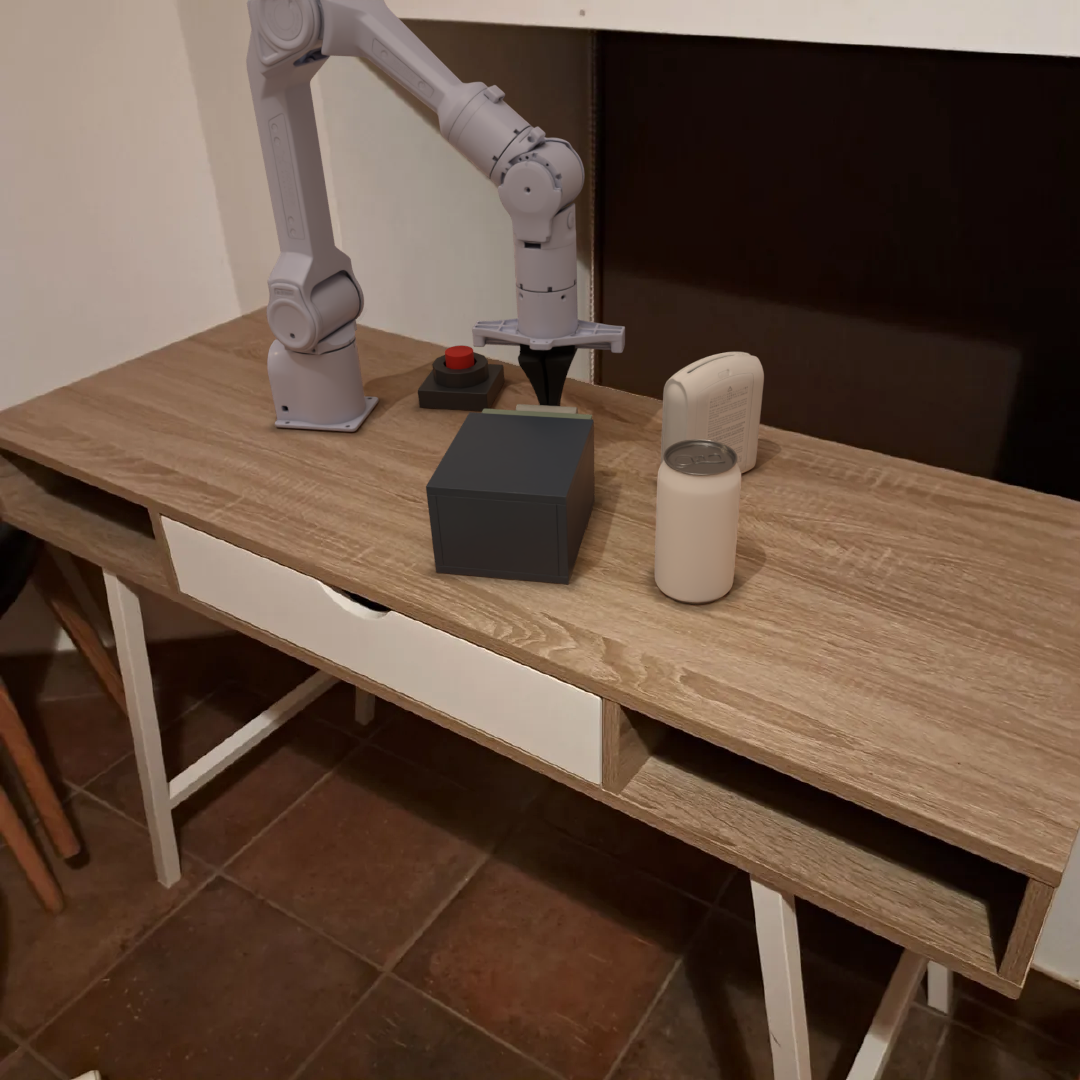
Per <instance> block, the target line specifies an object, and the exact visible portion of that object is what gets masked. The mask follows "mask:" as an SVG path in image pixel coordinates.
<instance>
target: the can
mask: <svg viewBox="0 0 1080 1080" xmlns="http://www.w3.org/2000/svg"><path fill="white" fill-rule="evenodd" d="M737 459H738V457H737V454H736V452H735V451H734V450H733V449H732V448H731V447H729V446H727V445H725V444H723V443H720V442H717V441H713V440H706V439H691V440H684V441H680V442H677V443H675V444H673V445H671V446H669V447H668V448H667V449H666V450H665V452H664V461H663V462H662V464H661V463H660V465H659V468H658V471H657V477H656V479H657V480H656V502H655V503H656V506H655V535H654V536H655V540H654V581H655V584H656V586H657V587H658V589H659V590H660V591H661V592H662V593H663V594H664V595H665V596H667V597H668V598H669V599H671V600H674V601H675V602H680V603H684V604H687V605H688V604H690V605H702V604H703V605H704V604H709V603H713V602H715V601H717V600H720V599H721V598H723V597H725V595H727V594H728V592H730V591H731V589H732V587H733V583H734V577H735V565H736V555H737V543H738V531H739V518H740V505H741V504H740V503H741V493H742V492H741V491H742V488H741V487H742V473H741V472H740V469H739V467H738V464H737Z"/></svg>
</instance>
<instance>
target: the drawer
mask: <svg viewBox="0 0 1080 1080" xmlns="http://www.w3.org/2000/svg"><path fill="white" fill-rule="evenodd" d="M481 413H489V414H507V415H524V416H541V417H559V418H576V419H593V414H589V413H579V408H578V407H577V406H563V405H562V406H561V405H560V406H545V405H539V404H524V403H517V404H516V406H515V409H499V408H498V409H497V408H489V409H483V411H481Z"/></svg>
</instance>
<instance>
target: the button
mask: <svg viewBox="0 0 1080 1080" xmlns="http://www.w3.org/2000/svg"><path fill="white" fill-rule="evenodd" d="M473 352H474V348H473V347H472V346H469V345H463V344H462V345H454V346H450V347H448V348H446V349H445V350H444V355H445V359H446V367H447V368H450V369H465V368H469V367H472V366H474V353H473Z"/></svg>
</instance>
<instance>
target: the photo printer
mask: <svg viewBox="0 0 1080 1080" xmlns="http://www.w3.org/2000/svg"><path fill="white" fill-rule="evenodd" d="M764 383H765V373H764V368H763V365H762V363H761V361H760V359H759V357H757V356H755V355H751V354H750V353H749V352H744V351H727V352H722V353H716V354H712V355H709V356H706V357H703V358H700V359H698V360H696V361H694V362H692V363H690V364H688V365H686V366H684V367H683V368H681V369H679V370H678V371H676V372H675V373H674V374H673V375H671V377H670V378H668V379H667V380H666V382H665V384H664V386H663V393H662V415H661V416H662V418H661V440H660V441H661V443H660V465H661V464H662V462H663V461H664V452H665V450H666V449H667V448H668V447H669V446H671V445H673V444H675V443H677V442H680V441H684V440H691V439H706V440H713V441H717V442H720V443H723V444H725V445H727V446H729V447H731V448H732V449H733V450H734V451H735V452H736V454H737V457H738V459H737V464H738V467H739V469H740V472H741V474H743V473H746V472H748V471H750V470H752V469H754V467H755V466H756V464H757V457H758V445H759V436H760V435H759V433H760V423H761V411H762V402H763V391H764Z"/></svg>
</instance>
